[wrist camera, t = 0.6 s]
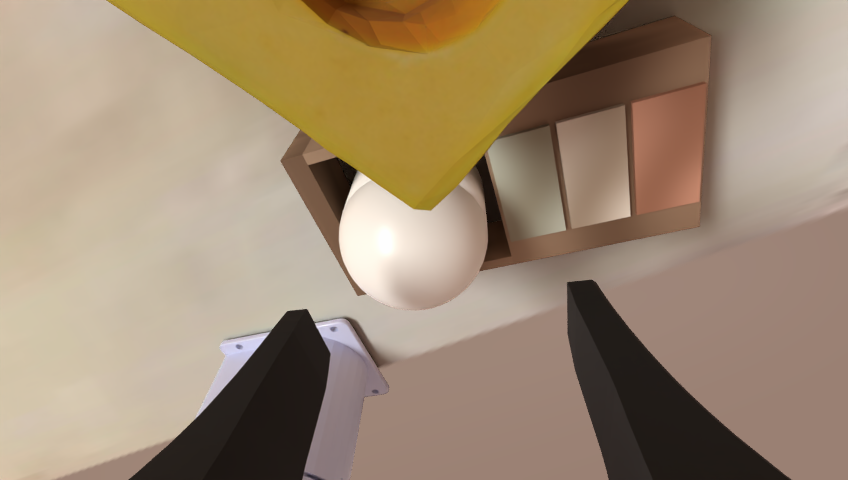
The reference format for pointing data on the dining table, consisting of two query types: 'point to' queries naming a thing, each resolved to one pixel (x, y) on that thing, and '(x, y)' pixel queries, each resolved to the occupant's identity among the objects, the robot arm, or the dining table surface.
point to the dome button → (413, 243)
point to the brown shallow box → (577, 152)
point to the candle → (387, 72)
